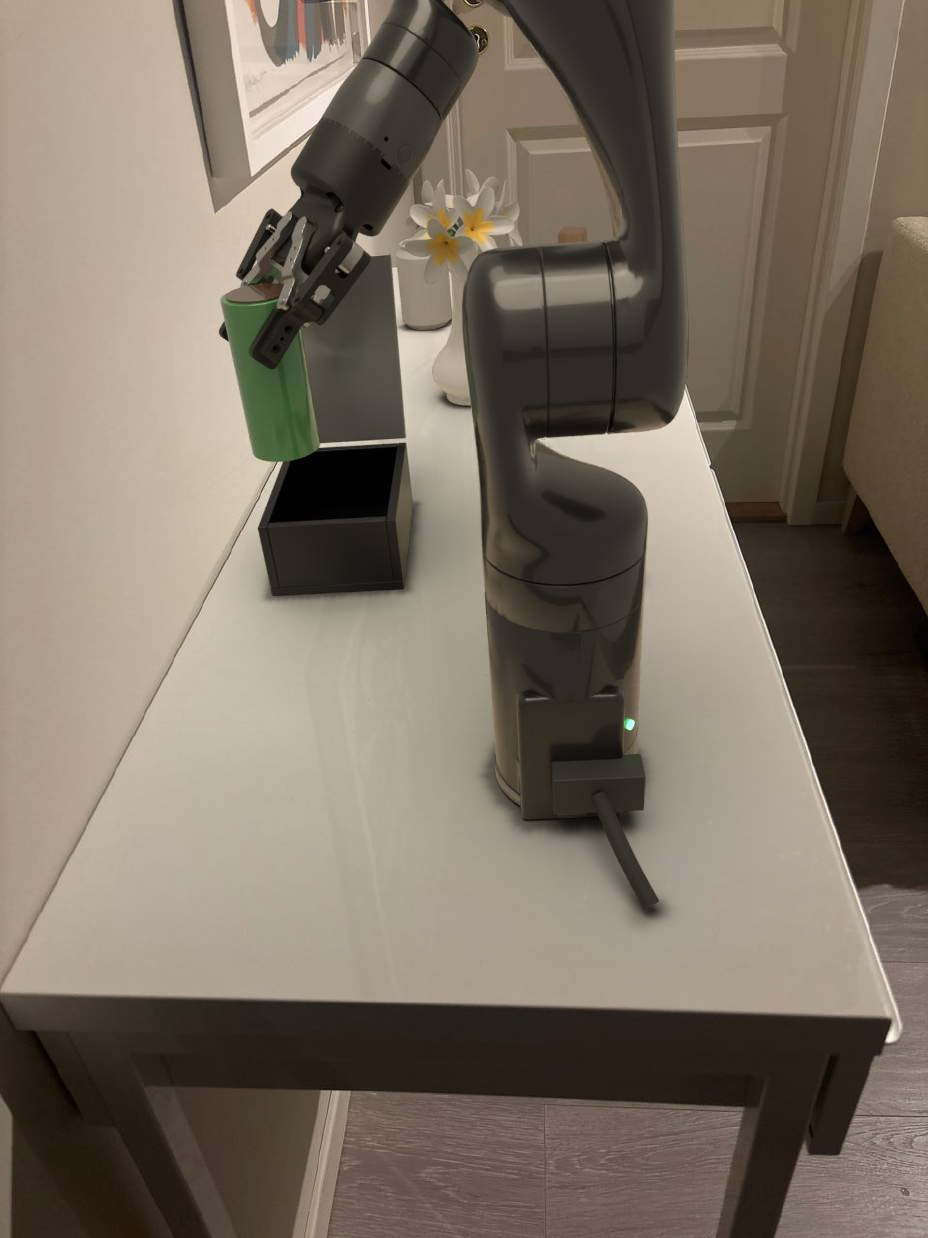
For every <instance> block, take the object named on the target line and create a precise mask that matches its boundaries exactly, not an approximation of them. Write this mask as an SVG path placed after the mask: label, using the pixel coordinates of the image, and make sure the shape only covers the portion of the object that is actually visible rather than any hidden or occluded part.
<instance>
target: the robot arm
mask: <svg viewBox="0 0 928 1238" xmlns="http://www.w3.org/2000/svg"><path fill="white" fill-rule="evenodd" d="M445 2H446V0H392V3H391V5H390V8H389V11H388V13H387V15H386V17H385V18H384V20H383V21H382V23H381V24H380V26H379V28H378V29H377V31H376V32H375V34H374V36H373V38H372V40H371V41H370V43H369V44H368V46H367V48H366V50H365V51H364V53H363V54H362V56H361V57H360V60H359V61H358V63H357V64H356V66H355V67H354V68H353V70H351V72H350V73H349V74H348V76H347V77H346V78H345V79H344V81H343V82H342V84H340V86H339V87H338V89H337V91H336V92H335V94H334V96H333V97H332V99H331V100H330V102H329V104H328V106H327V107H326V109H325V111H324V112H323V114H322V115H321V117H320V118H319V120H318V122H317V124H316V126H315V127H314V128H313V131H312V133H311V134H310V135H309V137H308V139H307V140H306V142H305V144H304V146H303V147H302V149H301V151H300V152H299V154H298V156H297V157H296V159H295V160H294V162H293V164H292V166H291V168H290V177H291V180H292V181H293V183H294V184H295V186H296V187H298V188H299V191H300V196H299V198H298V199H297V200H296V201H295V202H294V204H293V205H292V206H291V207H290V208H289V209H288V211H286V213H285V214H284V215H282V214H280V213H279V212H278V211H277V210H275V209H274V208H272V207H271V208H270V209H268V210H267V211H266V212H265V214H264V216H263V217H262V220H261V222H260V224H259V226H258V228H257V229H256V232H255V234H254V235H253V237H252V240H251V242H250V244H249V246H248V248H247V250H246V252H245V254H244V256H243V258H242V259H241V262H240V264H239V266H238V268H237V270H236V273H235V277H236V278H237V279H238V280H239V281H241V282H240V285H239V288H240V287H244V286H249V285H255V284H265V283H272V282H273V280H274V278H275V279H276V280H275V281H274V283H275V284H283V285H284V286H283V289H282V291H281V294H280V297H279V299H278V302H277V306H276V307H277V309H279V310H280V311H279V312H278V311H277V310H275V309H273V310H272V311H271V313H270V314H269V316H268V318H267V319H266V321H265V323H264V324H263V326H262V328H261V329H260V331H259V333H258V334H257V336H256V338H255V339H254V341H253V343H252V344H251V346H250V348H249V350H248V353H249V355H250V357H252V358H253V359H255V360H256V361H258V362H259V363H261V364H262V365H264V366H265V367H267V368H269V369H275V368H276V367H277V366H278V364H279V363H280V361H281V359H282V358H283V356H284V354H285V353H286V351H287V349H288V348H289V346H290V345H291V343H292V341H293V340H294V338H295V336H296V335H297V333H298V331H299V330H300V328H301V326H302V327H304V328H306V327H308V326H309V325H310V324H311V322H315V323H316V324H317V325H319V326H321V325H323V324H324V323H325V322H326V321H327V319H328V318H329V317H330V315H331V314H332V313H333V311H334V310H335V309H336V307H337V306H338V305H339V303H340V302H341V301H342V299H343V298H344V297H345V295H346V294H347V293H348V291H349V290H350V289H351V287H352V286H353V285H354V283H355V282H356V281H357V279H358V278H359V277H360V275H361V274H362V273H363V271H364V270H365V269H366V267H367V266H368V264H369V263H370V260H371V256H372V255H370V253H368V252H367V251H366V250H365V249H364V248H363V247H362V246H360V245H359V243H357V239H358V235H359V234H361V235H363V236H366V237H371V238H372V237H376V236H378V235H379V234H381V232H382V230H383V229H384V227H385V226H386V225H387V223H388V222H389V221H388V220H389V219H390V218H391V216H392V214H393V213H394V211H395V209H396V208H397V206H398V204H399V203H400V201H401V199H402V198H403V197H404V195H405V193H406V191H407V189H408V188H409V186H410V185H411V183H412V182H413V180H414V178H415V176H416V175H417V173H418V172H419V170H420V168H421V167H422V165H423V164H424V162H425V160H426V158H427V157H428V155H429V153H430V150H431V148H432V146H433V144H434V141H435V139H436V137H437V135H438V133H439V131H440V129H441V128H442V125H443V124H444V122H445V121H446V119H447V118H448V116H449V115H450V113H451V111H452V110H453V108H454V106H455V104H456V103H457V101H458V100H459V98H460V96H461V95H462V93H463V91H464V90H465V88H466V87H467V85H468V84H469V82H470V80H471V78H472V76H473V74H474V72H475V70H476V68H477V65H478V63H479V58H480V53H479V46H478V42H477V40H476V38H475V36H474V34H473V33H472V32H471V29H470V28H469V27H468V25H466V23H465V22H464V21H463V20H462V19H461V18H460V16H458V14H456V13H455V12H454V10H452V9H451V8H450V7H449V6H448V5H447V4H446V3H445ZM477 2H479V3H481V4H482V5H484V6H486V7H488V8H489V9H491V10H493V11H495V12H496V13H498V14H500V15H503V16H504V17H506V18H510V19H512V20H513V22H514V23H515V25H516V26H517V27H518V29H519V30H520V32H521V33H522V35H523V37H524V38H525V40H526V41H527V43H528V44H529V45H530V47H531V48H532V51H534V53H535V55H536V56H537V57H538V59H539V60H540V61H541V63H542V65H543V67H545V69H546V71H547V72H548V74H549V75H550V76H551V78H552V79H553V81H554V83H555V84H556V86H557V88H558V89H559V91H560V93H561V94H562V96H563V98H564V99H565V100H566V103H567V104H568V106H569V108H570V110H571V112H572V114H573V116H574V118H575V120H576V122H577V124H578V126H579V128H580V130H581V132H582V134H583V137H584V138H585V141H586V142H587V145H588V147H589V150H590V152H591V154H592V156H593V159H594V161H595V164H596V167H597V169H598V174H599V176H600V179H601V182H602V186H603V189H604V192H605V193H604V194H605V197H606V200H607V201H606V202H607V205H608V210H609V214H610V220H611V227H612V234H613V235H612V237H613V238H612V239H603V240H600V239H599V240H598V239H597V240H587V241H583V242H568V243H558V242H557V243H556V242H555V243H542V244H540V243H539V244H538V245H537V244H529V245H526V244H525V245H523V246H518V245H514V246H512V247H511V246H504V247H497V248H495V249H490V250H486V251H484V252H482V251H481V252H480V253H478V254H477V257H475V258H474V260H473V262H472V263H471V265H470V267H469V269H468V272H467V275H466V279H465V282H464V288H463V297H462V334H463V344H464V355H465V365H466V372H467V380H468V387H469V395H470V403H471V406H470V410H471V418H472V426H473V432H474V433H473V435H474V443H475V452H476V460H477V471H478V489H479V509H480V510H479V512H480V513H479V514H480V536H481V550H482V551H481V554H482V569H483V570H482V571H483V582H484V584H483V585H484V586H483V587H484V601H485V602H484V603H485V604H484V605H485V618H486V619H485V620H486V632H487V633H486V635H487V649H488V663H489V676H490V678H489V679H490V694H491V707H492V709H491V711H492V721H493V722H492V724H493V734H494V748H495V751H494V752H495V753H494V772H495V777H496V780H497V783H498V785H499V787H500V789H501V790H502V791H503V793H504V794H505V795H506V796H507V797H508V798H509V799H510V800H511V801H512V802H514V803H516V804H517V805H518V806H519V807H520V810H521V817H522V819H524V820H540V819H541V820H545V819H576V818H589V817H590V818H591V817H598V818H599V819H598V820H599V821H600V823H601V826H602V829H603V830H604V833H605V836H606V838H607V840H608V842H609V844H610V847H611V849H612V851H613V853H614V855H615V858H616V859H617V862H618V864H619V865H620V868H621V870H622V871H623V873H624V876H625V877H626V880H627V881H628V884H629V885H630V887H631V889H632V891H633V892H634V894H635V896H636V898H637V900H638V902H639V903H640V905H641V907H642V910H647V909H648V908H650V907H653V906H654V905H656V904H658V903H659V902H660V900H659V897H658V896H657V894H656V892H655V890H654V888H653V886H652V885H651V883H650V881H649V879H648V877H647V875H646V874H645V872H644V870H643V869H642V866H641V864H640V862H639V860H638V859H637V856H636V855H635V853H634V850H633V848H632V847H631V844H630V842H629V840H628V837H627V836H626V833H625V831H624V829H623V827H622V825H621V821H620V819H619V818H618V816H620V815H621V814H622V812H637V811H639V812H641V811H644V810H645V796H646V794H645V793H646V792H645V791H646V772H645V767H644V763H643V758H642V754H641V753H638V746H639V745H638V742H639V723H640V722H639V718H640V717H639V716H640V697H641V695H640V694H641V677H642V676H641V674H642V672H641V671H642V653H643V630H644V611H645V610H644V609H645V592H646V574H647V573H646V572H647V552H648V551H647V550H648V533H649V531H648V530H649V512H648V511H649V510H648V506H647V502H646V499H645V497H644V494H643V493H642V492H641V490H640V489H639V488H638V487H637V486H636V485H635V484H634V483H633V482H632V481H630V480H629V479H628V478H626V477H625V476H623V475H621V474H619V473H617V472H615V471H614V470H610V469H608V468H605V467H603V466H599V465H597V464H593V463H589V462H587V461H583V460H579V459H577V458H573V457H570V456H569V455H565V454H563V453H560V452H559V451H557V450H555V449H553V448H551V447H550V446H548V445H546V444H545V443H543V442H542V441H540V440H539V439H552V438H554V439H555V438H568V437H586V436H597V435H598V436H600V435H601V436H602V435H606V434H607V435H615V434H630V433H631V434H633V433H643V432H644V433H645V432H651V431H657V430H661V429H664V428H665V427H667V426H668V425H669V424H670V423H672V422H673V420H674V419H675V418H676V416H677V414H678V412H679V411H680V408H681V404H682V403H683V399H684V396H685V390H686V385H687V379H688V368H689V357H690V356H689V352H690V351H689V350H690V349H689V347H690V322H689V321H690V320H689V300H688V299H689V298H688V297H689V296H688V281H687V280H688V277H687V262H686V261H687V260H686V245H685V232H684V231H685V229H684V216H683V215H684V213H683V202H682V201H683V200H682V198H683V197H682V186H681V185H682V184H681V183H682V182H681V170H680V154H679V138H678V137H679V136H678V115H677V95H676V94H677V92H676V91H677V90H676V47H675V46H676V42H675V40H676V0H477ZM337 271H339V272H340V273H337ZM297 289H298V292H297ZM296 292H297V293H296ZM322 299H325V300H324V301H323V302H322V304H321V305H320V304H319V302H320V300H322ZM218 334H219V337H220V338H221V339H223V340H225V341H226V342H228V343H229V340H228V335H227V331H226V326H225V321H224V320H223V321H222V324H221V325H220V327H219V329H218Z"/></svg>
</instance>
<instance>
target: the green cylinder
mask: <svg viewBox="0 0 928 1238" xmlns="http://www.w3.org/2000/svg"><path fill="white" fill-rule="evenodd" d="M283 286H284V285H283V284H275V283H265V284H255V285H249V286H244V287H240V286H239V287H236V288H235V289H231V290H230V291H228V292H226V293H224V294H223V295H221V297H220V298H219V302H220V306H221V312H222V317H223V322H224V321H225V326H226V331H227V335H228V340H229V342H228V343H229V344H228V345H229V349H230V353H231V358H232V363H233V368H234V373H235V376H236V382H237V386H238V391H239V396H240V401H241V405H242V411H243V415H244V420H245V424H246V429H247V434H248V439H249V443H250V448H251V453H252V455H253V457H254V458H256V459H258V460H260V461H263V462H270V463H283V462H284V461H291V460H296V459H300V458H303V457H305V456H308V455H310V454H312V453H313V452H315V451H316V450H317V449H318V448H320V447H321V443H320V437H319V431H318V425H317V419H316V413H315V407H314V401H313V395H312V389H311V383H310V377H309V371H308V365H307V359H306V353H305V347H304V341H303V336H302V330H301V328H300V330H299V331H298V333H297V335H296V336H295V338H294V340H293V341H292V343H291V345H290V346H289V348H288V349H287V351H286V353H285V354H284V356H283V358H282V359H281V361H280V363H279V364H278V366H277V367H276V368H275V369H269V368H267V367H265V366H264V365H262V364H261V363H259V362H258V361H256V360H255V359H253V358H252V357H250V355H249V353H248V350H249V348H250V346H251V344H252V343H253V341H254V339H255V338H256V336H257V334H258V333H259V331H260V329H261V328H262V326H263V324H264V323H265V321H266V319H267V318H268V316H269V314H270V313H271V311H272V310H273V309H275V310H277V311H278V312H279V311H280V310H279V309H277V307H276V306H277V302H278V299H279V297H280V294H281V291H282V289H283Z"/></svg>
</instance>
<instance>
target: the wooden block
mask: <svg viewBox="0 0 928 1238" xmlns="http://www.w3.org/2000/svg"><path fill="white" fill-rule="evenodd" d="M583 241H588V228H587V227H586V226H564V227H562V228H561V229H560V230H559V231H558V233H557V243H568V242H583Z"/></svg>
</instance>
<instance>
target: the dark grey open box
mask: <svg viewBox="0 0 928 1238" xmlns="http://www.w3.org/2000/svg"><path fill="white" fill-rule="evenodd" d="M409 462H410V461H409V453H408V445H407V442H405V441H404V442H391V443H390V442H389V443H375V444H373V443H371V444H360V445H359V444H357V445H356V444H355V445H341V446H340V445H339V446H325V447H324V446H323V447H322V446H321V447H319V448H318V449H317V450H316V451H315V452H313V453H312V454H310V455H308V456H305V457H303V458H300V459H296V460H291V461H284V462H281V466H280V468H279V470H278V474H277V476H276V479H275V482H274V484H273V487H272V488H271V492H270V494H269V497H268V500H267V502H266V505H265V507H264V510H263V513H262V516H261V518H260V521H259V524H258V526H257V531H258V537H259V541H260V546H261V550H262V554H263V558H264V564H265V570H266V572H267V579H268V583H269V587H270V592H271V596H292V595H293V596H294V595H307V594H308V595H310V594H312V595H313V594H328V593H329V594H331V593H348V592H349V593H351V592H365V591H366V592H369V591H387V590H388V591H389V590H403V589H405V582H406V573H407V563H408V554H409V547H410V546H409V545H410V537H411V535H410V534H411V528H412V518H413V511H414V510H413V509H414V500H413V491H412V490H413V489H412V483H411V482H412V481H411V473H410V463H409Z"/></svg>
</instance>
